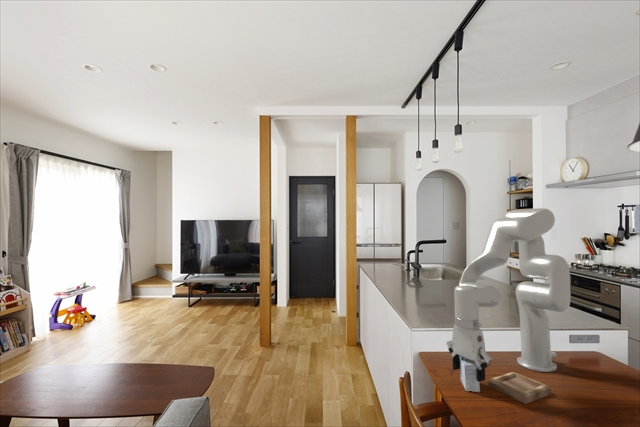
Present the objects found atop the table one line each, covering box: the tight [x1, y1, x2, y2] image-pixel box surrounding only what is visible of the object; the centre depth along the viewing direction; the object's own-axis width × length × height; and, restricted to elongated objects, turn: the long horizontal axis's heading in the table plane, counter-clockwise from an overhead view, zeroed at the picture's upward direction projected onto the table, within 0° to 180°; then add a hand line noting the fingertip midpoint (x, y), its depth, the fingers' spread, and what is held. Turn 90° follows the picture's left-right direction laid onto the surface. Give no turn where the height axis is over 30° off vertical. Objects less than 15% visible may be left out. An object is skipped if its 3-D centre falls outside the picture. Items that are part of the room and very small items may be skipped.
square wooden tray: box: [487, 371, 552, 404], centre depth 107 cm, size 13×12×2 cm
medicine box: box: [459, 355, 481, 393], centre depth 110 cm, size 8×4×9 cm, turn 168°
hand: (468, 374), depth 110 cm, fingers open, 9 cm apart
